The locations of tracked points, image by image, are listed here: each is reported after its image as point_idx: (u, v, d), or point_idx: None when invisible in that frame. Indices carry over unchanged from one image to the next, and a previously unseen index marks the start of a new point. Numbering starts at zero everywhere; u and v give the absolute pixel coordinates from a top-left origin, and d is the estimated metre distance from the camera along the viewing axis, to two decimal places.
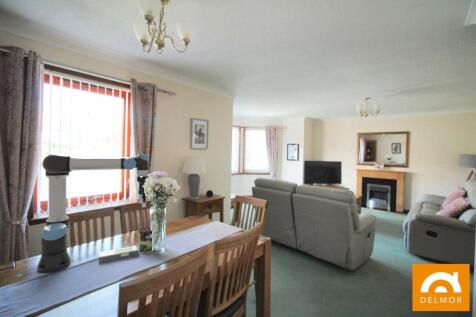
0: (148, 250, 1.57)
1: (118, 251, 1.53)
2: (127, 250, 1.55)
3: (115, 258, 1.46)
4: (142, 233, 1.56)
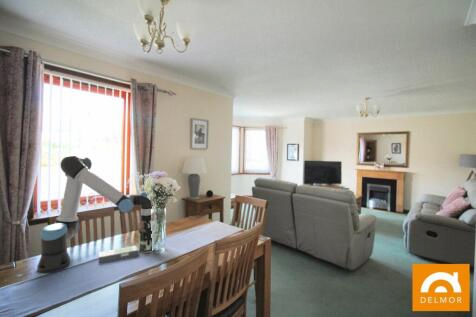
0: (148, 250, 1.57)
1: (118, 251, 1.53)
2: (127, 250, 1.55)
3: (115, 258, 1.46)
4: (142, 233, 1.56)
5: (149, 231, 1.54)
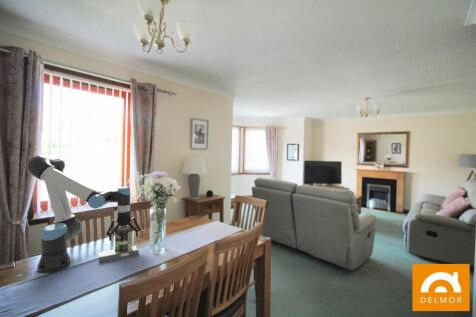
0: (115, 249, 1.52)
1: None
2: None
3: (115, 258, 1.46)
4: None
5: (110, 226, 1.50)
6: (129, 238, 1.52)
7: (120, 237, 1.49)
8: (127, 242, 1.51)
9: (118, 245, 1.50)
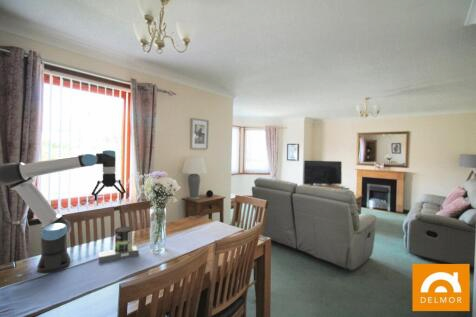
0: (115, 249, 1.52)
1: None
2: None
3: (115, 258, 1.46)
4: None
5: (95, 186, 1.55)
6: (129, 238, 1.52)
7: (120, 237, 1.49)
8: (127, 242, 1.51)
9: (118, 245, 1.50)
